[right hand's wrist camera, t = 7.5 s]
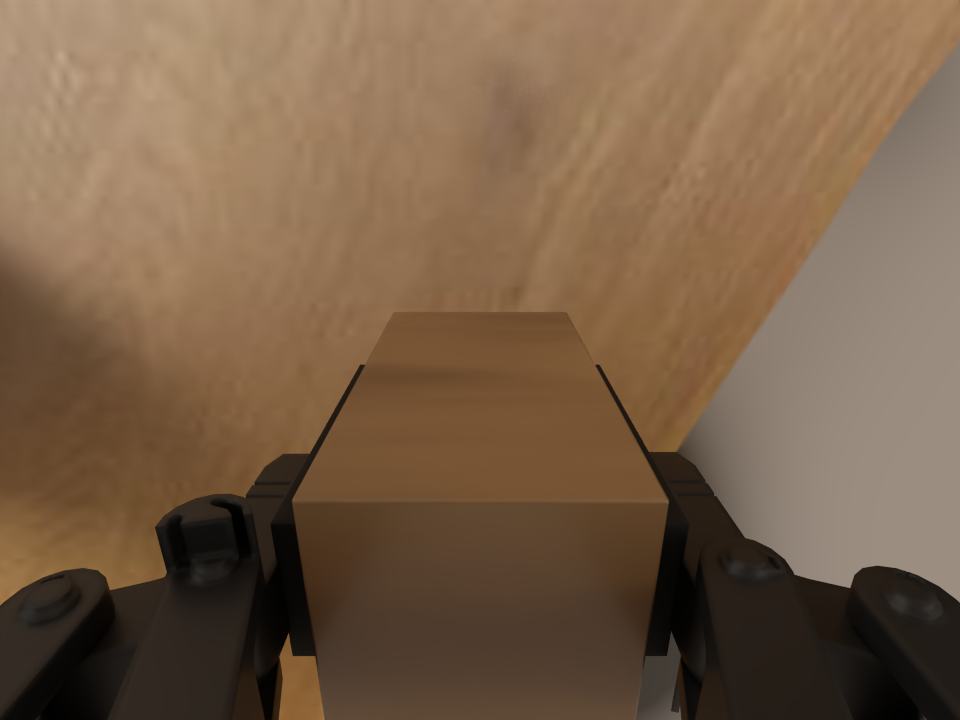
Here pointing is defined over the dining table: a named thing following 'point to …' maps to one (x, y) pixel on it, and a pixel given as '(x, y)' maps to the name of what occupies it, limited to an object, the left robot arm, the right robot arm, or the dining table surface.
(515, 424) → the wooden block
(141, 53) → the dining table surface
